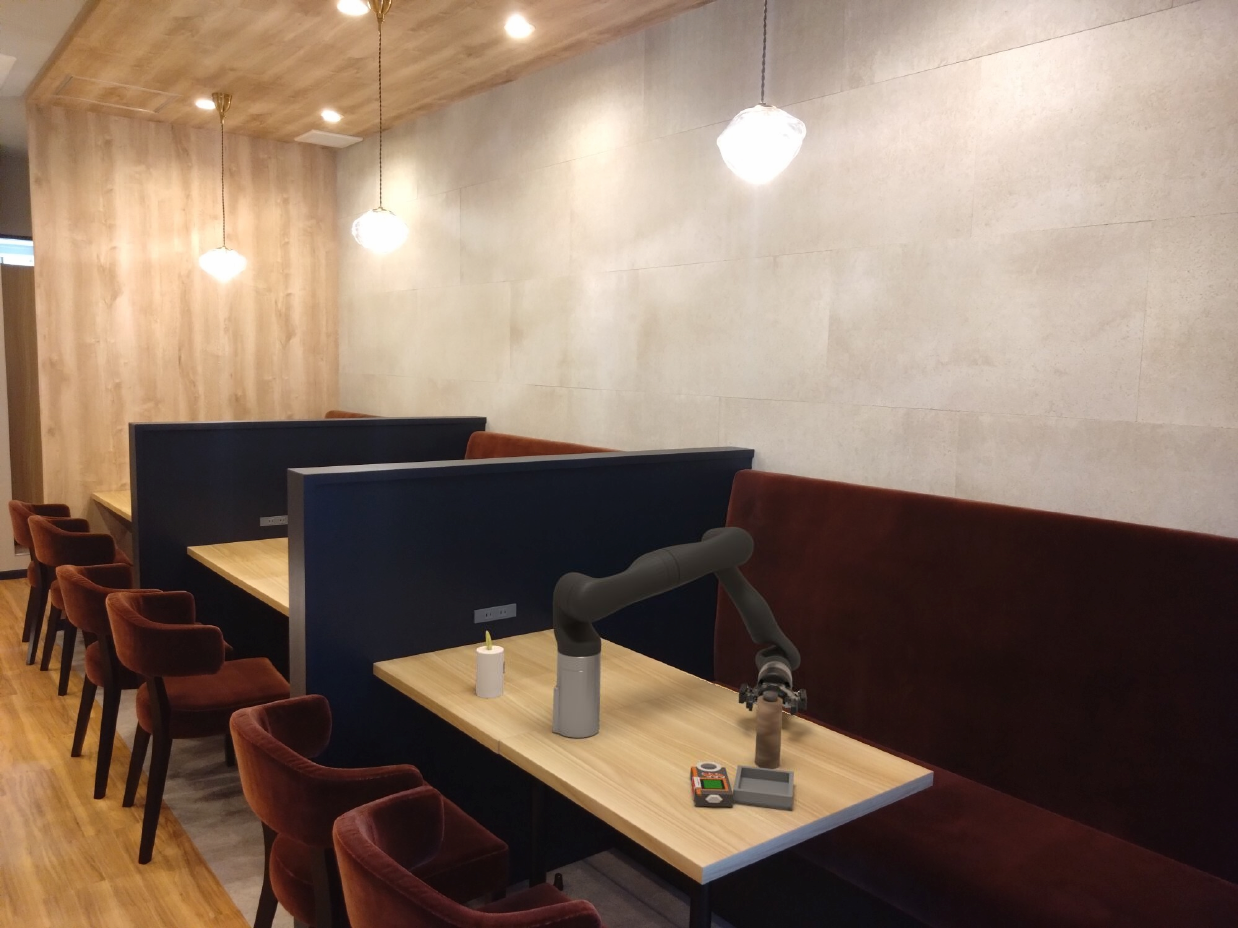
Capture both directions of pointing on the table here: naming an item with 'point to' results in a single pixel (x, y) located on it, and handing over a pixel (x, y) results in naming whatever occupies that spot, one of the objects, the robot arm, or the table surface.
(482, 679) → the candle
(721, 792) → the electronic device
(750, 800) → the tray
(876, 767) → the table surface
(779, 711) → the pepper mill
